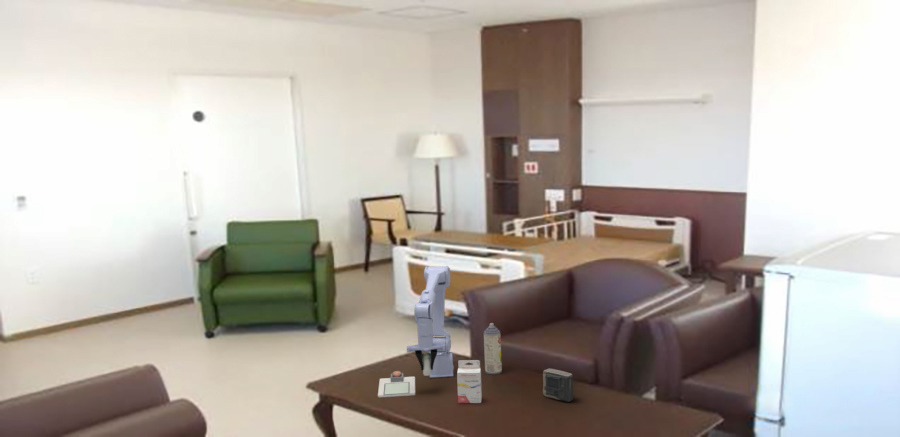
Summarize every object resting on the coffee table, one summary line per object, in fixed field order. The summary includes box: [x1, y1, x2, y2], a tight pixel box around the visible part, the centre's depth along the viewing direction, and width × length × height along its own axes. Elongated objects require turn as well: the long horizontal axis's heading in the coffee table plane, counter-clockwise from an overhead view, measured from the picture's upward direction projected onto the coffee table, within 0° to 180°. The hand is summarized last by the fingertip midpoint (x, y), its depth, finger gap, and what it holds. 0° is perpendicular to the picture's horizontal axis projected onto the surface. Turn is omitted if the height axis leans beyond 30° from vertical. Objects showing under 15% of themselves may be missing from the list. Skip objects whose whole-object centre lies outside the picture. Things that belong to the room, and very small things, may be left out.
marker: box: [422, 352, 431, 377], centre depth 271 cm, size 3×3×8 cm
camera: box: [542, 368, 574, 403], centre depth 259 cm, size 11×6×10 cm, turn 47°
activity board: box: [377, 372, 416, 398], centre depth 277 cm, size 14×18×3 cm
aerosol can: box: [483, 322, 503, 375], centre depth 289 cm, size 7×7×20 cm
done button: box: [392, 370, 402, 377], centre depth 284 cm, size 3×3×2 cm
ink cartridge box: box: [456, 359, 483, 404], centre depth 260 cm, size 9×5×15 cm, turn 84°
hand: (427, 369), depth 271 cm, fingers closed on marker, 3 cm apart
